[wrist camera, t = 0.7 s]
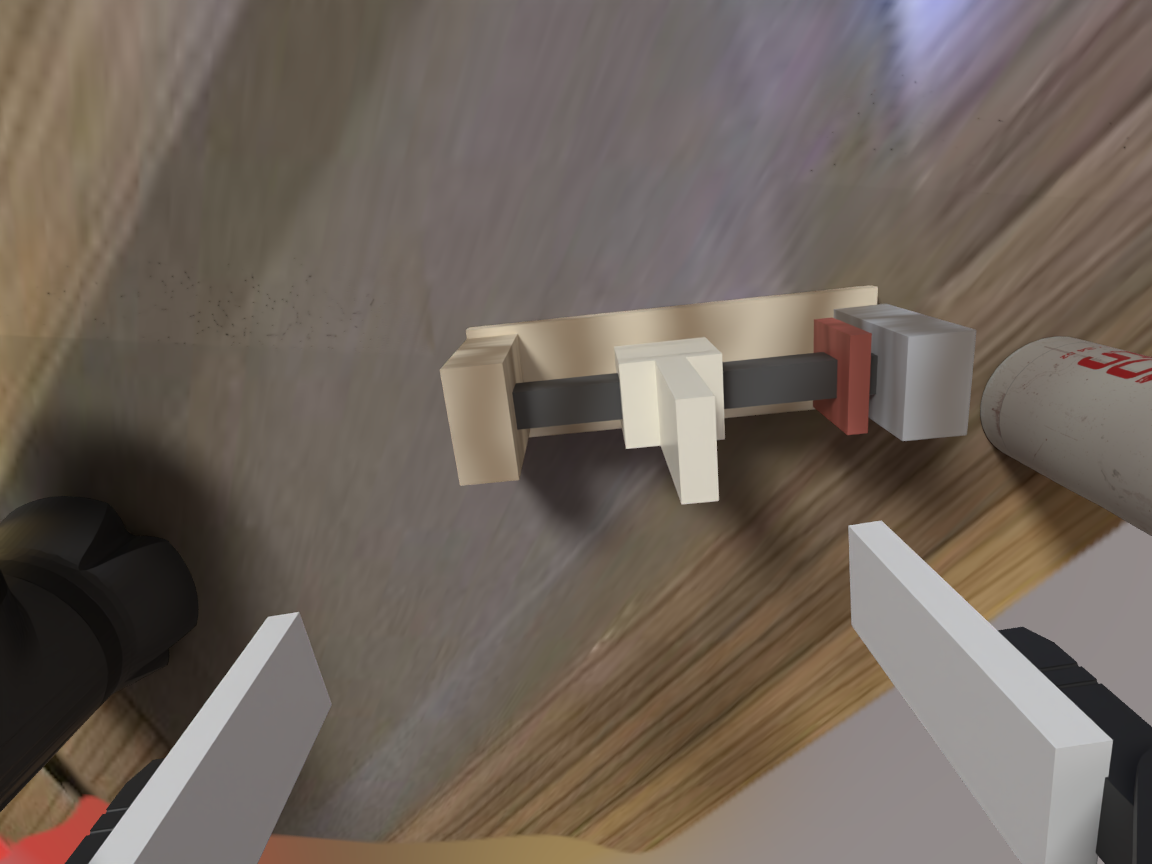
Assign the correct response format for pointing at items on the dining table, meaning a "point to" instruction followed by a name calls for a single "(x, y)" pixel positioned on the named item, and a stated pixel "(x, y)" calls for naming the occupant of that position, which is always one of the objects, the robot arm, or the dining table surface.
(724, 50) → the dining table surface
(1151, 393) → the thermos bottle
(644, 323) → the rail
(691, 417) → the cream t-shaped block
